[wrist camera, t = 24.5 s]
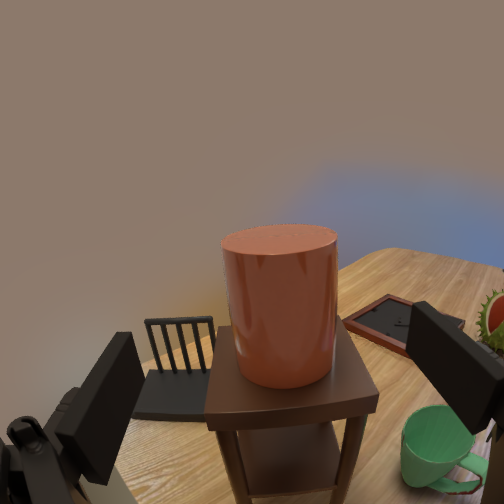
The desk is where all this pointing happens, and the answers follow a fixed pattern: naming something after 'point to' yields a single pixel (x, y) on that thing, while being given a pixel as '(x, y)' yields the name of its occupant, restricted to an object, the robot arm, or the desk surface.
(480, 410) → the robot arm
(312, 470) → the side table
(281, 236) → the cylinder
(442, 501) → the desk surface
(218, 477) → the desk surface
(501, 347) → the chestnut
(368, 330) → the picture frame
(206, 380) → the slatted back chair
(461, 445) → the mug
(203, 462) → the desk surface
